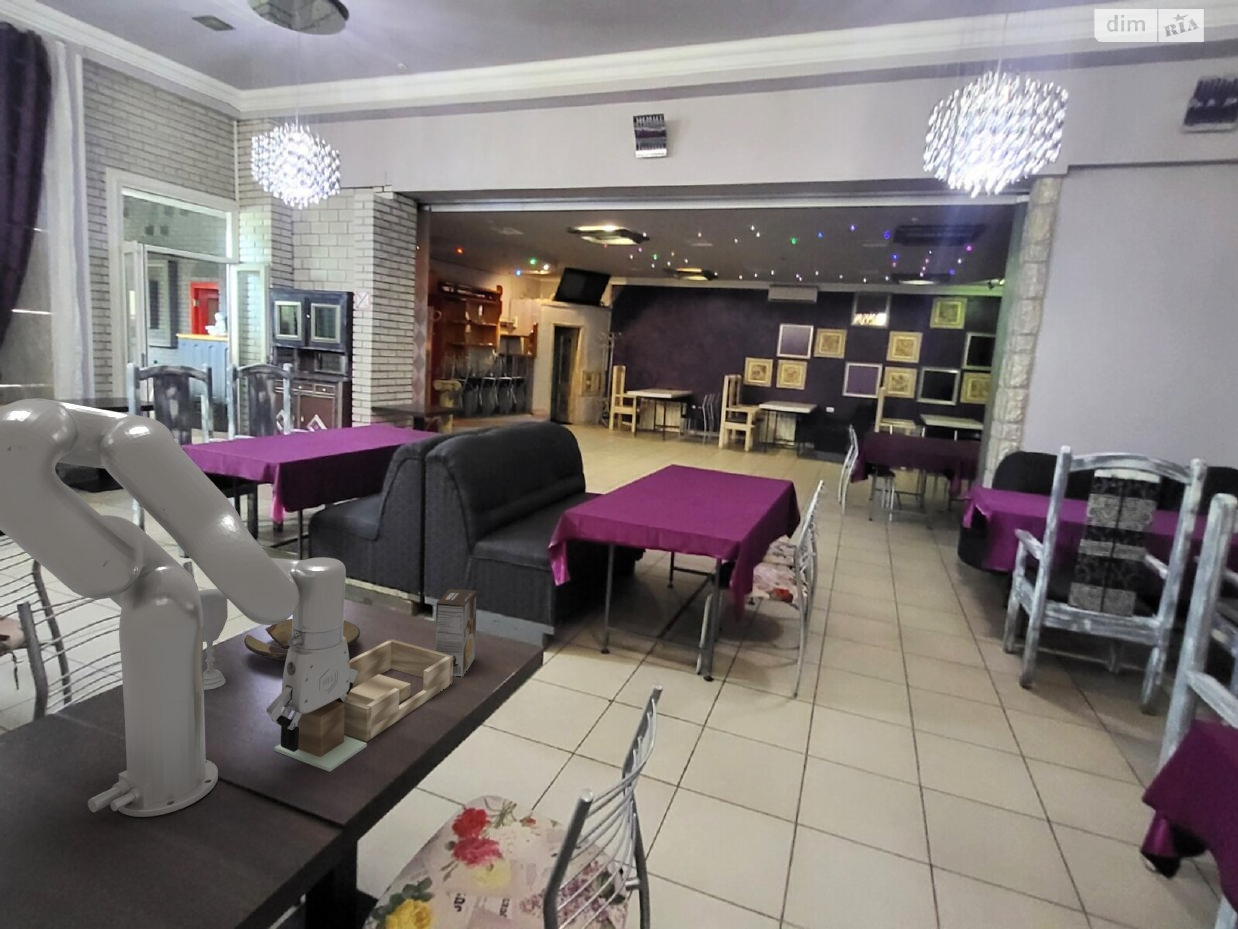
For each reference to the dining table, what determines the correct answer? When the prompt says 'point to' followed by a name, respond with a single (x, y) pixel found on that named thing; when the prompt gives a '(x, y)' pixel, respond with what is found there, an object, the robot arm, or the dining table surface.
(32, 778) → the dining table surface
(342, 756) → the mat
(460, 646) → the coffee box
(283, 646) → the broken brown bowl
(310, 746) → the block
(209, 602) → the chalice
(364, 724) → the crate
